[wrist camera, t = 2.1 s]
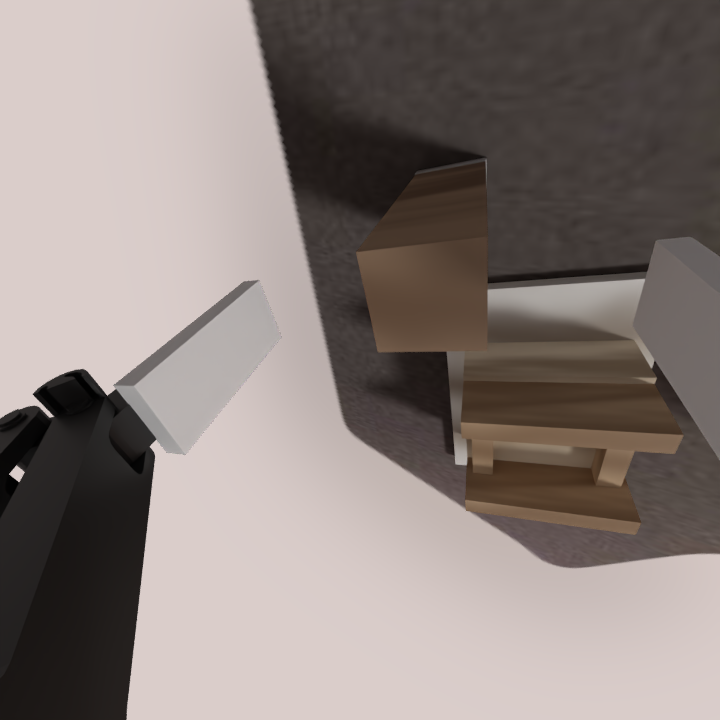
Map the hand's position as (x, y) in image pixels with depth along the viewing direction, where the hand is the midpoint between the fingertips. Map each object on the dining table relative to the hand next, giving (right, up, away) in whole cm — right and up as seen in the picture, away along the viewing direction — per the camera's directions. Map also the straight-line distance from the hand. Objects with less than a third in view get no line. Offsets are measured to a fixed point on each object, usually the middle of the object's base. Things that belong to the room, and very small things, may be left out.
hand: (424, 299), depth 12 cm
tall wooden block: (+4, +8, +10) cm, 13 cm away
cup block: (+13, -5, +17) cm, 21 cm away
